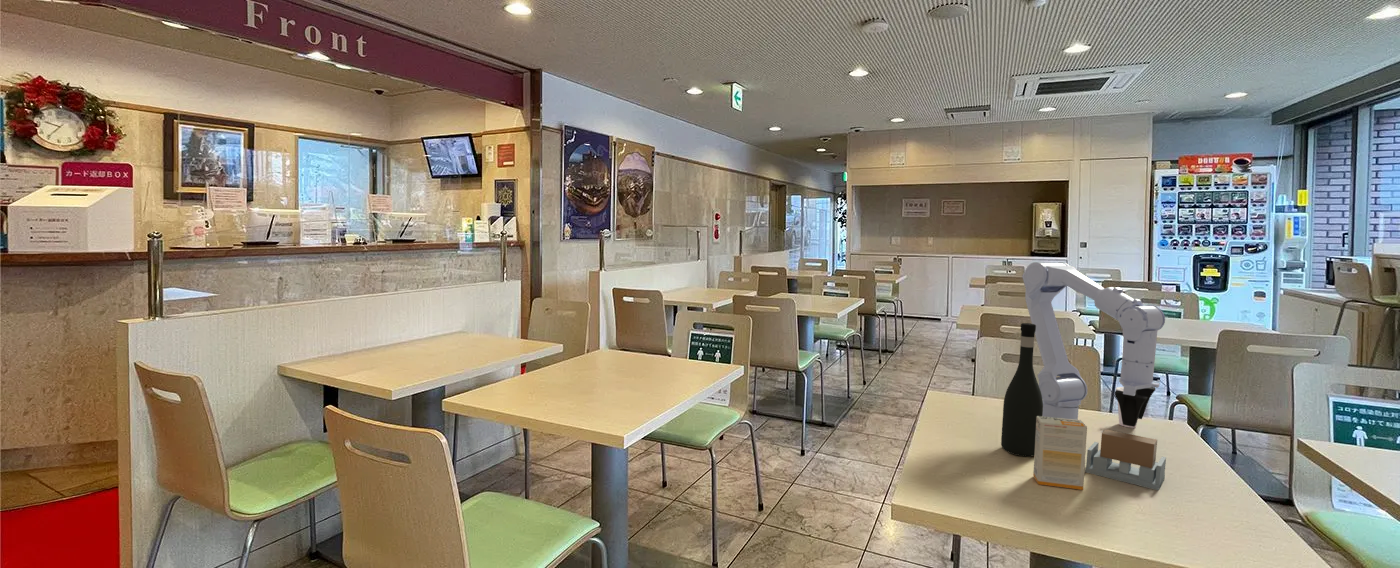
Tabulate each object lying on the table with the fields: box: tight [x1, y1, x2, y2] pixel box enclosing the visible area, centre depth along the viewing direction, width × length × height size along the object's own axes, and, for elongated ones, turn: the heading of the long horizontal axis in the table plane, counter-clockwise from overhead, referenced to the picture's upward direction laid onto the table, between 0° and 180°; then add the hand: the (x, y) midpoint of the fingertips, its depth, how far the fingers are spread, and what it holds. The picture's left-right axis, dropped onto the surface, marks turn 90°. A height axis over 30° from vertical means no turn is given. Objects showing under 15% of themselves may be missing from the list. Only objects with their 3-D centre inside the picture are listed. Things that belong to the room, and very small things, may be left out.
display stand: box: [1084, 441, 1167, 491], centre depth 127 cm, size 13×8×5 cm, turn 46°
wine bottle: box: [1000, 322, 1043, 457], centre depth 139 cm, size 8×8×30 cm
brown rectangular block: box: [1099, 429, 1158, 468], centre depth 127 cm, size 9×4×5 cm, turn 46°
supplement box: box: [1032, 416, 1088, 491], centre depth 122 cm, size 8×5×13 cm, turn 71°
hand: (1132, 421), depth 133 cm, fingers open, 7 cm apart
